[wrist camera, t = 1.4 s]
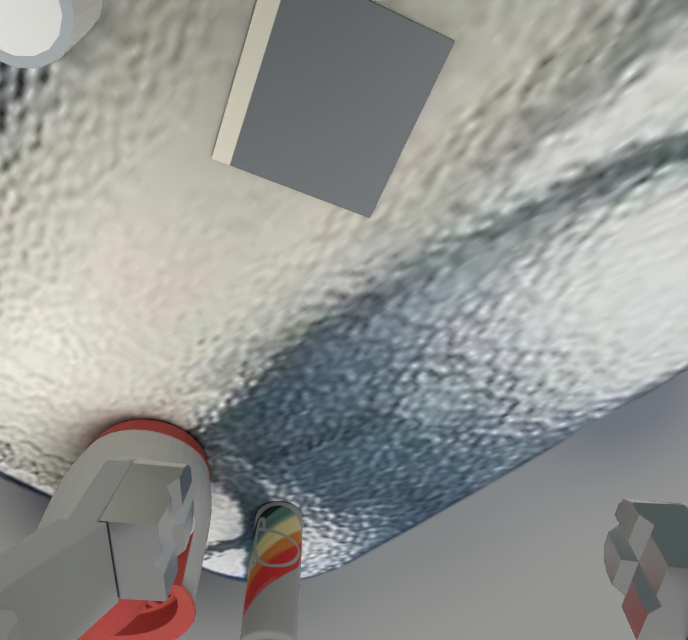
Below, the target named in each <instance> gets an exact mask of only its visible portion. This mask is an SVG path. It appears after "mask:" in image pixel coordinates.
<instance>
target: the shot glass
mask: <svg viewBox="0 0 688 640" xmlns="http://www.w3.org/2000/svg"><path fill="white" fill-rule="evenodd" d="M103 1H104V0H0V61H1V62H3V63H6V64H8V65H10V66H13V67H15V68H41V67H43V66H45V65H47V64H49V63H52V62H54V61H56V60H58V59H59V58H60V57H62V56H63V55H64V54H65V53H66V52H67V51H68V50H69V49H70V48H71V47H72V46H73V45H75V44H76V43H77V42H78V41H79V40H80V39H81V38H82V37H83V36H84V35H85V34H86V33H87V32H89V31H90V30H91V29H92V27H93V26H94V25H95V23H96V22H97V21H98V19H99V18H100V16H101V11H102V6H103Z"/></svg>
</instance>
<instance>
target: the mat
mask: <svg viewBox="0 0 688 640" xmlns="http://www.w3.org/2000/svg"><path fill="white" fill-rule="evenodd" d="M454 42H455V41H454V40H452V39H450V38H447V37H445V36H443V35H441V34H439V33H437V32H435V31H433V30H431V29H429V28H427V27H424V26H422V25H420V24H418V23H416V22H414V21H412V20H410V19H408V18H406V17H403V16H401V15H399V14H397V13H395V12H393V11H391V10H389V9H387V8H385V7H383V6H380V5H378V4H376V3H374V2H372V1H370V0H257V2H256V6H255V9H254V13H253V16H252V20H251V23H250V27H249V30H248V34H247V37H246V41H245V44H244V47H243V51H242V54H241V58H240V61H239V65H238V68H237V72H236V75H235V79H234V82H233V86H232V89H231V93H230V96H229V99H228V103H227V106H226V110H225V113H224V117H223V120H222V124H221V127H220V131H219V134H218V138H217V141H216V144H215V148H214V151H213V155H212V158H211V159H214V160H216V161H219V162H222V163H224V164H227V165H231V166H234V167H236V168H239V169H242V170H244V171H247V172H249V173H252V174H255V175H257V176H260V177H263V178H265V179H268V180H271V181H273V182H276V183H278V184H281V185H284V186H286V187H289V188H292V189H294V190H297V191H300V192H302V193H305V194H308V195H310V196H313V197H315V198H318V199H321V200H323V201H326V202H329V203H331V204H334V205H337V206H339V207H342V208H344V209H347V210H350V211H352V212H355V213H358V214H360V215H363V216H366V217H368V218H370V217H371V215H372V213H373V210H374V208H375V206H376V204H377V202H378V200H379V198H380V196H381V194H382V192H383V190H384V188H385V185H386V183H387V181H388V179H389V177H390V175H391V173H392V171H393V169H394V167H395V165H396V163H397V161H398V158H399V156H400V154H401V152H402V150H403V148H404V146H405V144H406V142H407V140H408V138H409V136H410V134H411V131H412V129H413V127H414V125H415V123H416V121H417V119H418V117H419V115H420V113H421V111H422V109H423V107H424V104H425V102H426V100H427V98H428V96H429V94H430V92H431V90H432V88H433V86H434V84H435V82H436V79H437V77H438V75H439V73H440V71H441V69H442V67H443V65H444V63H445V61H446V59H447V57H448V55H449V52H450V50H451V48H452V46H453V44H454Z"/></svg>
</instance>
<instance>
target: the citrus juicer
mask: <svg viewBox="0 0 688 640" xmlns="http://www.w3.org/2000/svg"><path fill="white" fill-rule="evenodd" d="M110 457H117V458H126V459H135V460H137V459H141V460H151V461H160V462H170V463H180V464H188V465H189V466H190V467H191V475H192V483H191V485H190V488H189V490H188V494H189V495H190V496H191V497H192V498H193V500H194V517H193V525H192V530H191V535H190V539H189V542H188V544H187V547H186V550H185V551H184V552H182V553H181V554H180V555H178V556H177V562H178V572H177V574H176V577H175V580H174V582H173V585H172V588H171V590H170V593H169V596H168V598H167V601H150V600H131V599H118V603H117V604H115V605H114V606H113V607H112V608H111V609H110V610H109V611H108V612H107V613H106V614H105V615H103V616H102V617H101V618H100V619H99V620H98V621H97V622H96V623H95V624H94V625H93V626H92V627H90V628H89V629H88V630H87V631H86V632H85V633H84V634H83V635H82V636H81V637H80V638H78V639H77V640H175V639H177V638H179V637H180V636H181V635H183V634H184V633H185V632H186V631H187V630H188V629H189V627H190V626H191V624H192V623H193V621H194V618H195V615H196V609H195V598H196V592H197V588H198V583H199V577H200V573H201V568H202V563H203V558H204V553H205V548H206V543H207V538H208V533H209V526H210V519H211V485H210V471H209V467H208V463H207V460H206V457H205V454H204V451H203V449H202V447H201V446H200V444H199V443H198V442H197V441H196V440H195V439H194V438H193V437H192V436H191V435H189V434H188V433H186V432H185V431H184V430H182V429H179V428H177V427H175V426H173V425H170V424H167V423H164V422H159V421H154V420H141V419H140V420H129V421H125V422H121V423H118V424H116V425H114V426H112V427H110V428H109V429H108V430H106V431H105V432H103V433H102V434H101V435H100V436H98V437H97V438H96V439H95V440H94V441H92V442H91V443H90V444H89V446H88V447H87V448H86V449H85V451H84V452H83V453H82V454H81V455H80V456H79V458H78V459H77V460H76V461H75V463H74V464H73V465H72V467H71V468H70V469H69V471H68V472H67V473H66V475H65V476H64V477H63V479H62V480H61V482H60V484H59V486H58V488H57V489H56V491H55V493H54V495H53V497H52V499H51V501H50V503H49V505H48V507H47V509H46V512H45V513H44V516H43V518H42V520H41V522H40V524H39V526H38V528H37V530H36V532H37V531H39V530H41V529H42V528H44V527H46V526H47V525H49V524H51V523H53V522H54V521H56V520H58V519H67V518H68V517H69V515H70V514H71V512H72V510H73V509H74V507H75V506H76V504H77V503H78V501H79V500H80V498H81V497H82V495H83V493H84V492H85V490H86V489H87V487H88V486H89V484H90V483H91V481H92V480H93V478H94V476H95V475H96V473H97V472H98V470H99V469H100V467H101V466H102V464H103V463H104V461H106V460H107V459H109V458H110ZM36 532H35V533H36Z"/></svg>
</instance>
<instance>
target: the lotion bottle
mask: <svg viewBox="0 0 688 640" xmlns="http://www.w3.org/2000/svg"><path fill="white" fill-rule="evenodd" d="M302 529H303V517H302V513H301V511H300V510H299V509H298V508H297V507H296V506H294V505H292V504H289V503H286V502H272V503H268V504H265V505H264V506H262V507H261V508H260V509H259V510H258V512H257V514H256V518H255V525H254V532H253V540H252V548H251V556H250V564H249V572H248V580H247V588H246V595H245V603H244V612H243V619H242V627H241V636H240V640H297V632H298V631H297V630H298V611H299V610H298V609H299V591H300V571H301V550H302Z"/></svg>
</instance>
